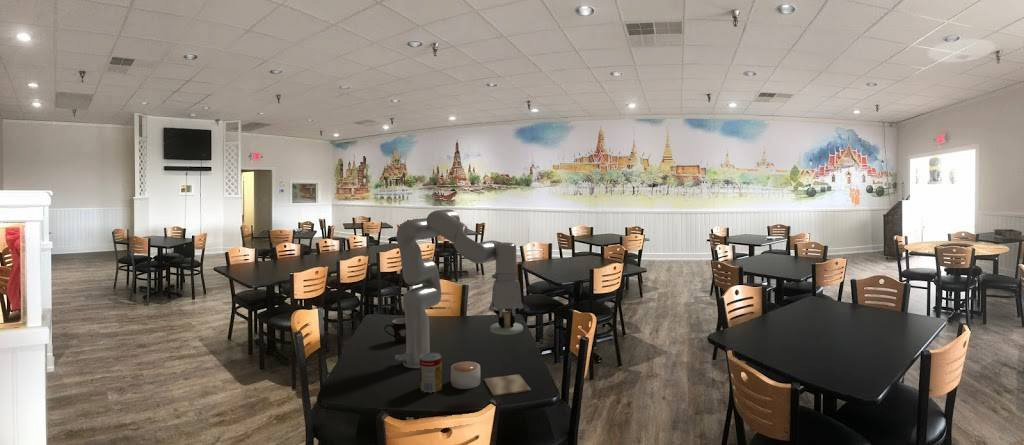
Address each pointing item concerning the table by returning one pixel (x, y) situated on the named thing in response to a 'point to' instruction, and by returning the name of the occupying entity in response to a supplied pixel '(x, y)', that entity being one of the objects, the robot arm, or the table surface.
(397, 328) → the coffee mug
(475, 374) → the bowl
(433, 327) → the table surface
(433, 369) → the canned food
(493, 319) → the table surface
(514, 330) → the lid
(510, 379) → the mat
